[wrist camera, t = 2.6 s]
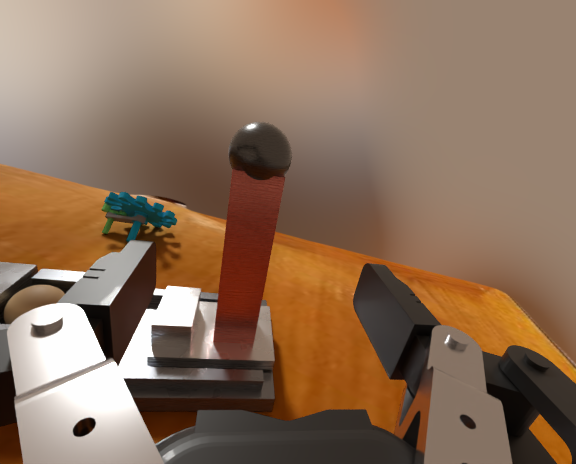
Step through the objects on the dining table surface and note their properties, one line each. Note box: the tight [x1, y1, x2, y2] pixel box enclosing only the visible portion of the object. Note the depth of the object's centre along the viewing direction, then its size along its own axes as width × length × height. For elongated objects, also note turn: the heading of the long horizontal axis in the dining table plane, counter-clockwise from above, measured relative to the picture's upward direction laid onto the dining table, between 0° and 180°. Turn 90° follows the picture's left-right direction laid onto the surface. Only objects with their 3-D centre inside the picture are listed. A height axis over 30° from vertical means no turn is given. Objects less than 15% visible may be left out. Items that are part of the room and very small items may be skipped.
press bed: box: [0, 262, 275, 412], centre depth 25 cm, size 28×12×5 cm, turn 97°
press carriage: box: [147, 122, 292, 370], centre depth 23 cm, size 10×7×19 cm
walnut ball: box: [4, 285, 65, 324], centre depth 23 cm, size 4×4×4 cm
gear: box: [102, 192, 177, 242], centre depth 42 cm, size 11×6×10 cm
